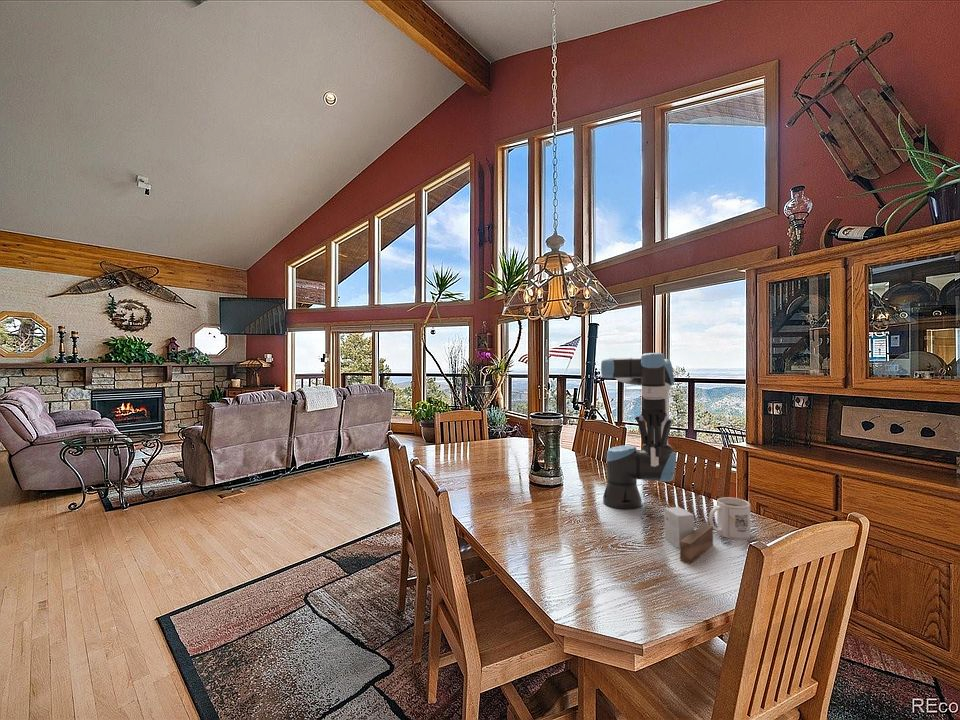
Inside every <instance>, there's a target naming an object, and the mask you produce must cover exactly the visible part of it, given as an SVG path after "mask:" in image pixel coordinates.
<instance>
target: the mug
mask: <svg viewBox="0 0 960 720" xmlns="http://www.w3.org/2000/svg"><path fill="white" fill-rule="evenodd" d="M715 513H717V515H716V521H717V522H716V523H717V527H716V526H715V524H714V515H715ZM708 523H709V526H713V530H715V531H716V532H717V534H719V535H720V536H722V537H724V538H727V539H730V540H736V541H745V539H746V540H749V539H750V538H751V537H752V536H751V535H752V533H751V527H752V526H751V525H752V523H751V503H750V502H749V501H747V500H744V499H742V498H738V497H730V496H728V497H719V498H717V500H716V506H713V508H711V509H710V512H709V514H708Z"/></svg>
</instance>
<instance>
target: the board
mask: <svg viewBox="0 0 960 720" xmlns="http://www.w3.org/2000/svg"><path fill="white" fill-rule="evenodd" d="M713 545H714V529H713V526H711V525H710V524H709V525H708V524H704V523H702V524H701V525H700V526H698V527H697V528H695V529H694V531H693V532H692V533H690V534H689V535H688V536H686V537H685V538H684V539H682V540H681V541H680V549H679V552H680V553H679V556H680V559H679V560H680V562H682V563H685V564H687V565H688V564H689V565H692V564H693V563H694V562H695V561H696V560H698V559H699V558H700V557H701V556H702V555H703V554H704V553H706V552H707V551H708V550H709V549H710V548H711V547H713Z"/></svg>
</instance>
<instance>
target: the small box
mask: <svg viewBox="0 0 960 720" xmlns="http://www.w3.org/2000/svg"><path fill="white" fill-rule="evenodd" d="M663 512H664V517H663V518H664V540H666V541H667V542H669V543H670V544H671V545H673V546H674V547H676V548H678V549H679V550H680V541H681V540H682V539H684V538H685V537H686V536H688V535H689V534H690V533H692V532H693V531H694V530H695V518H694V517H695V515H694V514H692V513H691V512H689V511H687V510H686V509H683V508H681V507H679V506H675V507H664V508H663Z"/></svg>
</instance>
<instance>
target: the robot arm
mask: <svg viewBox="0 0 960 720" xmlns="http://www.w3.org/2000/svg"><path fill="white" fill-rule="evenodd" d="M600 362H601V363H600V372H601V377H602V378H604V379H615V380H616V381H617V382H619V383H623V384H628V385H632V386H641V397H642V399H641V408H642V411H641V413H640V415H637V416H635V417H634V419H635V421H636V422H637V425H638V429H639V432H640V433H639V434H640V437H641V440H642V444H643V445H642V446H641V450H639V449H638V450H637V448H636V446H635V445H626V444H624V445H619V446H618V445H617V446H613V447H610V448H609V449H608V450H607V451H606V460H605V461H606V478H607V479H606V480H607V481H606V482H607V483H606V487H605V489H604V492H603V495H602V501H603V502H602V503H604V504H605V506H607V507H611V508H614V509H620V510H633V509H637V508H640V507H641V506H643V504H642V502H643V501H642V497H641V494H640V492H639V488H638V484H637V483H638V482H637V481H638V480H641V481H642V480H643V481H653V482H660V483H662V482H672V481H673V480H674V478H675V473H676V472H675V471H676V463H677V462H676V461H677V453H676V451H673V447H672V445H670V444H669V435H670V431H671V427H672V425H673V423H674V422H675V421H674V419H673V418H670V417H668V415H669V414H668V413H669V411H668V392H669V391H670V390H671V389H672V386H674V385H675V377H674V370H673V365H672V361H671V359H668V358H665V354H664V353H660V352H648V353H643V354H642V355H641V357H609V358H607V357H606V358H602V360H601V361H600Z"/></svg>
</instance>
